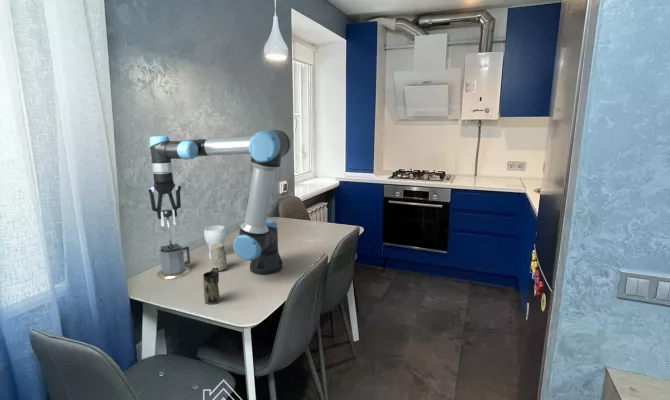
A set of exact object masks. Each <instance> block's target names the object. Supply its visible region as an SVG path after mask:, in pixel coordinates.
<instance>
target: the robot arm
mask: <svg viewBox="0 0 670 400" xmlns="http://www.w3.org/2000/svg"><path fill="white" fill-rule="evenodd" d="M291 146H292V145H291V138H290V137H289V135H288V134H287V133H286V132H284V131H283V130H280V129H264V130H260V131H258V132H256V133H254V134H253V135H251V136H250V135H249V136H246V135H245V136H235V137H233V136H231V137H218V138H198V139H190V140H189V139H186V140H170V137H169V136H168V135H153V136H150V138H149V149H150V156H151V166H152V167H151V168H152V173H153V175H152V176H153V186H152V187H150V188H147V189H146V190H147V192H148V193H149V199H150V200H149V201H150V205H151V210H152V211H153V212H156V215H157V218H158V220H160V226H161V227H162V228H163V227H165V219H164V218H165V217H163V212H162V211H163V210H162V203H163V198H164V197H163V196H164V195H166V194H167V196H168V199H169V202H170V204H171V207H172V209H171V210H172V216H171V221H172V225H173V226H176V224H177V223H176V217H178V209H181V208H182V204H181V199H182V198H181V190H182V186H181V185H179V184H175V182H174V175H173V166H172V160H173V159H174V160H175V159H178V160H193V159H195V158H197V157H210V156H211V157H212V156H227V155H228V156H232V155H250V163H251V165H252V166H253V170H252V176H251V183H250V189H249V194H248V201H247V206H246V212H245V217H244V218H245V220H244V222H243V223H241V224H240V226H239V232H238V236H237V237H236V236H235V237H236V238H235V239H234V240H233V242H232V249H233V252H234V253H235V254H236V256H237V258H239V259H240V260H243V261H246V262H249V263H250V264H249V270H250V271H249V272H250V273H252V274H256V275H271V274H275V273H278V272H280V271H281V270H283V267H284V265H283V260H282V257H281V255H280V252H279V238H278V237H279V234H278V231H279V230H278V229H279V228H278V223H277V221H276V220H273V219H268V214H269V208H270V204H271V196H272V192H273V191H272V190H273V185H274V180H275V175H276V171H277V170H278V169H280V168H281V164H282V163H281V162H282V158H283V157H285V156H286V155H287V154H289V151H290V150H291ZM174 189H175V200H176V202H175V200H174V195H173V190H174ZM155 191H156V192H157V193H158V194H157V203H156V199H155ZM156 204H157V205H156Z"/></svg>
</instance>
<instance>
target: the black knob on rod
mask: <svg viewBox="0 0 670 400" xmlns="http://www.w3.org/2000/svg"><path fill="white" fill-rule="evenodd" d="M161 211H162V212H163V218H166V223H167V225H166V226H167V235H168V243H169V244H168V245H170V248H172V244H173V243H172V233H171V226H170V225H171V224H170V217H172V209H170V208H169V209H163V210H161ZM176 251H177V250H176ZM171 252H172V251H171Z"/></svg>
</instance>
